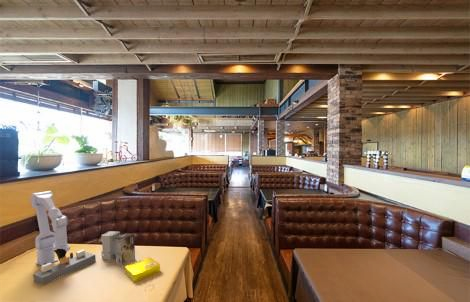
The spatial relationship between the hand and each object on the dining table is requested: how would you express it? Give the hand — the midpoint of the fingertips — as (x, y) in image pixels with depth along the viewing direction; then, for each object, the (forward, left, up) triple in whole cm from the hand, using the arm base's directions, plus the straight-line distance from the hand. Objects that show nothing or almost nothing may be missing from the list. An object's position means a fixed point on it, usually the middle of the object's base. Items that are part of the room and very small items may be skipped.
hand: (61, 260), depth 138 cm
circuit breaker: (+16, +23, -5) cm, 28 cm away
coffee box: (+28, +21, -5) cm, 35 cm away
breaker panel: (+5, 0, -5) cm, 7 cm away
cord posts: (-3, 0, -5) cm, 6 cm away
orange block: (+3, 0, -1) cm, 3 cm away
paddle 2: (+3, +9, -1) cm, 10 cm away
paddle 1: (+3, -9, -1) cm, 10 cm away
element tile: (+48, +16, -5) cm, 51 cm away
